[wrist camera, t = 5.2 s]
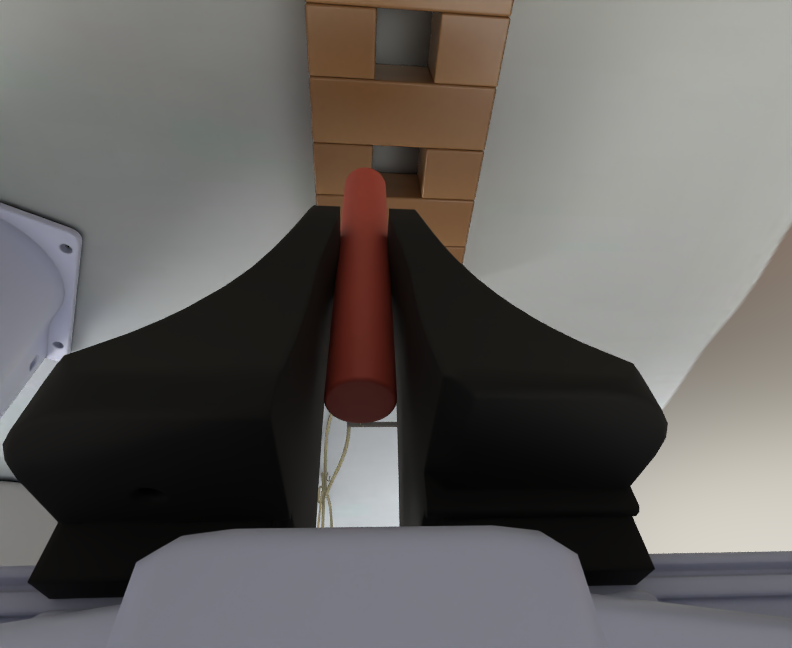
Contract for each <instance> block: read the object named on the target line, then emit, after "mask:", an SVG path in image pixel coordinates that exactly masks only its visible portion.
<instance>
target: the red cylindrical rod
mask: <svg viewBox="0 0 792 648" xmlns="http://www.w3.org/2000/svg"><path fill="white" fill-rule="evenodd" d="M340 232H341V238H340V249H339V259H338V265H337V271H336V279H335V289H334V300H333V310H332V320H331V330H330V340H329V350H328V360H327V370H326V381H325V391H324V403H325V406H326V408H327V410H328V411H329V412H330V413H331V414H332V415H333V416H335V417H336V418H338V419H340V420H343V421H346V422H351V423H370V422H375V421H378V420H381V419H383V418H385V417H386V416H388V415H389V414H390V413H391V412H392V411H393V409H394V408H395V406H396V403H397V384H396V365H395V347H394V329H393V311H392V292H391V277H390V268H389V260H388V242H387V234H388V219H387V201H386V185H385V181H384V179H383V177H382V176H381V174H380V173H379V172H377V171H376V170H374V169H371V168H358V169H356V170H354V171H352V172H351V173H350V174H349V175H348V177H347V179H346V181H345V188H344V198H343V208H342V219H341V229H340Z"/></svg>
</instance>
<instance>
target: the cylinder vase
mask: <svg viewBox="0 0 792 648" xmlns="http://www.w3.org/2000/svg"><path fill="white" fill-rule="evenodd" d="M57 524H58V522H57V521H56V520H55V519H54V517H53V516H52V515H51V514H50V513H49V512H48V511H47V510H46V509H45V508H44V507H43V506H42V505H41V504H40V503H39V502H38V501H37V500H36V499H35V498H34V497H33V495H32V494H31V493H30V492H29V491H28V490H27V489H26V488H25V487H24V486H23V485H22V484H21V483H17V482H8V481H0V566H29V565H36V564H37V562H38V560H39V558H40V556H41V555H42V553H43V551H44V549H45V547H46V545H47V543H48V541H49V539H50V537H51V535H52V533H53V531H54V529H55V527H56V525H57Z"/></svg>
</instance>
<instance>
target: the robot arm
mask: <svg viewBox="0 0 792 648" xmlns="http://www.w3.org/2000/svg"><path fill="white" fill-rule="evenodd" d="M340 238H341V232H340V206H318V205H314V206H312V207H311V208H310V209H309V210H308V211H307V213H306V214H305V215H304V216H303V217H302V218H301V220H300V221H299V222H298V223H297V224H296V225H295V226H294V227H293V229H292V230H291V231H290V232H289V233H288V234H287V235H286V236H285V237H284V238H283V239H282V240H281V241H280V242H279V243H278V244H277V245H276V246H275V247H274V248H273V249H272V250H271V251H270V252H269V253H267V254H266V255H265V256H264V257H263V258H262V259H261V260H260V261H258V262H257V263H256V264H255V265H254V266H253V267H251V268H250V269H249V270H247V271H246V272H245V273H243V274H242V275H240V276H239V277H237V278H236V279H235V280H233V281H232V282H230V283H229V284H227V285H226V286H224V287H222V288H221V289H219V290H217V291H216V292H214V293H212V294H210V295H208V296H207V297H205V298H203V299H201V300H200V301H198V302H196V303H194V304H192V305H191V306H189V307H187V308H185V309H183V310H181V311H179V312H177V313H175V314H172V315H170V316H168V317H166V318H164V319H162V320H159V321H157V322H155V323H152V324H150V325H148V326H145V327H143V328H141V329H138V330H136V331H133V332H130V333H128V334H125V335H122V336H120V337H117V338H114V339H111V340H108V341H105V342H102V343H99V344H97V345H94V346H91V347H88V348H85V349H82V350H79V351H76V352H73V353H70V352H71V343H72V334H73V324H74V315H75V305H76V296H77V287H78V277H79V268H80V258H81V249H82V237H81V235H80V234H79V233H78V232H77V231H76V230H74V229H72V228H69V227H67V226H64V225H61V224H58V223H56V222H53V221H50V220H47V219H44V218H42V217H39V216H36V215H33V214H31V213H28V212H25V211H22V210H20V209H17V208H14V207H11V206H8V205H6V204H3V203H0V418H1V417H2V416H3V414H4V413H5V412H6V410H7V409H8V408H9V406H10V405H11V404H12V402H13V401H14V399H15V398H16V397H17V395H18V394H19V393H20V391H21V390H22V389H23V387H24V386H25V385H26V383H27V382H28V381H29V379H30V378H31V377H32V375H33V374H34V372H35V371H36V370H37V368H38V367H39V366H40V364H41V363H42V362H43V360H44V359H45V358H47V359H50V360H54V361H59V362H58V363H57V365H56V366H55V367H54V369H53V370H52V371H51V373H50V374H49V376H48V377H47V378H46V380H45V381H44V382H43V384H42V385H41V387H40V388H39V390H38V391H37V392H36V394H35V395H34V397H33V398H32V400H31V401H30V403H29V404H28V405H27V407H26V408H25V410H24V411H23V413H22V414H21V415H20V417H19V418H18V420H17V421H16V423H15V424H14V426H13V427H12V428H11V430H10V432H9V433H8V435H7V437H6V439H5V441H4V443H3V451H4V459H5V461H6V463H7V465H8V467H9V468H10V470H11V471H12V472H13V474H14V475H15V477H16V478H17V480H18V481H19V482H20V483H21V484H22V485H23V486H24V487H25V488H26V489H27V490H28V491H29V492H30V493H31V494H32V495H33V497H34V498H35V499H36V500H37V501H38V502H39V503H40V504H41V505H42V506H43V507H44V508H45V509H46V510H47V511H48V512H49V513H50V514H51V515H52V516H53V517H54V519H55V520H56V521H57V522H58V524H57V525H56V527H55V529H54V531H53V533H52V535H51V537H50V539H49V541H48V543H47V545H46V547H45V549H44V551H43V553H42V555H41V556H40V558H39V560H38V562H37V564H36V565H29V566H0V648H792V551H786V552H785V551H782V552H781V551H780V552H734V553H733V552H732V553H731V552H727V553H674V554H648V551H647V549H646V547H645V544H644V542H643V540H642V538H641V536H640V533H639V531H638V529H637V526H636V524H635V522H634V519H633V517H632V516H636V515H637V514H638V513H639V504H638V502H637V500H636V498H635V496H634V494H633V492H632V489H631V487H630V486H631V485H632V483H633V482H634V481H635V480H636V478H637V477H638V476H639V475H640V474H641V472H642V471H643V470H644V469H645V467H646V466H647V465H648V464H649V462H650V461H651V460H652V459H653V458H654V457H655V455H656V453H657V452H658V450H659V449H660V447H661V445H662V443H663V442H664V440H665V438H666V433H667V425H668V423H667V421H666V418H665V416H664V414H663V411H662V410H661V408H660V406H659V404H658V403H657V401H656V399H655V398H654V396H653V394H652V392H651V391H650V389H649V387H648V386H647V384H646V382H645V381H644V379H643V378H642V376H641V374H640V373H639V371H638V370H637V368H636V367H635V366H634V364H633V363H630V362H628V361H626V360H623V359H621V358H618V357H616V356H613V355H611V354H608V353H606V352H603V351H601V350H599V349H596V348H594V347H591V346H589V345H586V344H584V343H582V342H579V341H577V340H575V339H573V338H571V337H569V336H567V335H565V334H563V333H561V332H559V331H557V330H555V329H553V328H551V327H549V326H547V325H546V324H544V323H542V322H540V321H538V320H537V319H535V318H533V317H531V316H530V315H528V314H527V313H525V312H523V311H522V310H520V309H519V308H517V307H515V306H514V305H512V304H511V303H509V302H508V301H506V300H505V299H503V298H502V297H500V296H499V295H498V294H496V293H495V292H494V291H493V290H491V289H490V288H489V287H487V286H486V285H485V284H484V283H482V282H481V281H480V280H479V279H477V278H476V277H475V276H474V275H473V274H472V273H470V272H469V271H468V270H467V269H466V268H465V267H464V266H463V265H462V264H461V263H460V262H459V261H458V260H457V259H456V258H455V257H454V256H453V255H452V254H451V253H450V252H449V251H448V249H447V248H446V247H445V246H444V245H443V244H442V243H441V242H440V240H439V239H438V238H437V237H436V235H435V234H434V233H433V232H432V230H431V229H430V228H429V227H428V225H427V224H426V223H425V221H424V220H423V219H422V217H421V216H420V215H419V214H418V212H417V211H416V210H415V209H391V208H389V218H388V234H387V242H388V260H389V268H390V277H391V292H392V311H393V329H394V347H395V365H396V384H397V432H398V470H399V520H400V527H334V528H316V517H317V501H318V484H319V468H320V453H321V438H322V424H323V411H324V391H325V381H326V370H327V360H328V350H329V340H330V330H331V320H332V310H333V300H334V289H335V279H336V271H337V265H338V259H339V249H340ZM64 244H66V245H68V246H70V247H71V248H72V249H70V248H68V247H66V246H65V245H64Z"/></svg>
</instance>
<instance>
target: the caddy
mask: <svg viewBox="0 0 792 648" xmlns="http://www.w3.org/2000/svg"><path fill="white" fill-rule="evenodd" d="M305 1H306V4H305V18H306V35H307V52H308V70H309V75H310V77H309V86H310V104H311V121H312V138H313V157H314V174H315V192H316V205H318V206H340V229H341V219H342V208H343V198H344V188H345V181H346V179H347V177H348V175H349V174H350V173H351V172H352V171H354V170H356V169H358V168H371V169H372V156H373V145H381V146H401V147H420V148H419V158H418V168H417V174H395V173H380V174H381V176H382V177H383V179H384V181H385V185H386V201H387V219H388V218H389V208H391V209H415V210H416V211H417V212H418V214H419V215H420V216H421V217H422V219H423V220H424V221H425V223H426V224H427V225H428V227H429V228H430V229H431V230H432V232H433V233H434V234H435V235H436V237H437V238H438V239H439V240H440V242H441V243H442V244H443V245H444V246H445V247H446V248H447V249H448V251H449V252H450V253H451V254H452V255H453V256H454V257H455V258H456V259H457V260H458V261H459V262H460V263H461V264H462V263H463V258H464V253H465V246H466V242H467V237H468V232H469V227H470V222H471V217H472V212H473V206H474V199H475V196H476V191H477V186H478V181H479V176H480V171H481V166H482V160H483V155H484V151H483V150H484V149H485V145H486V140H487V135H488V129H489V124H490V119H491V114H492V109H493V104H494V99H495V94H496V86H497V85H498V80H499V74H500V69H501V64H502V59H503V54H504V49H505V44H506V39H507V33H508V28H509V23H510V18H509V16H510V15H511V12H512V7H513V2H514V0H305ZM377 8H389V9H402V10H416V11H430V12H433V15H432V25H431V35H430V46H429V56H428V67H418V66H402V65H386V64H375V57H376V23H377Z"/></svg>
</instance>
